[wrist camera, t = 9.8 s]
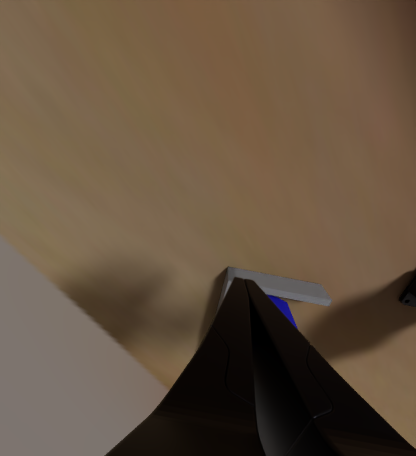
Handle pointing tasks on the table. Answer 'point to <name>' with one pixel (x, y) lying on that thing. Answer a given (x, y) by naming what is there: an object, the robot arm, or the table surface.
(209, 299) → the table surface
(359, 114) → the table surface
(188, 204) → the table surface
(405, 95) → the table surface
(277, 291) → the bracket
